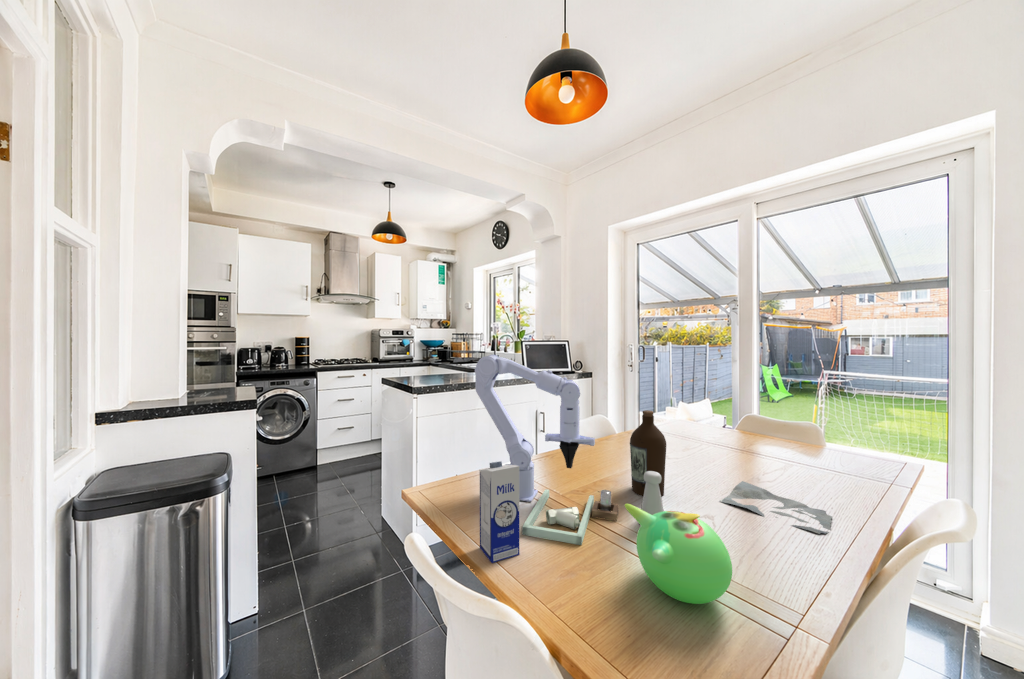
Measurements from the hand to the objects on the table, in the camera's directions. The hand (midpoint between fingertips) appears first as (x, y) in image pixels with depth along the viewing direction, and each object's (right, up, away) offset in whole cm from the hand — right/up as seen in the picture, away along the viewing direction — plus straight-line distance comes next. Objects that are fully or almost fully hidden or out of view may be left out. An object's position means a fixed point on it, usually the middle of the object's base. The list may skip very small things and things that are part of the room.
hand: (569, 467), depth 113 cm
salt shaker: (+19, -10, -14) cm, 26 cm away
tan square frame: (+8, -9, -10) cm, 16 cm away
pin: (+8, -9, -10) cm, 16 cm away
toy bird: (+15, -10, -40) cm, 44 cm away
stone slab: (+57, -10, -7) cm, 58 cm away
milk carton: (-20, -10, -27) cm, 35 cm away
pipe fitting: (-4, -10, -16) cm, 19 cm away
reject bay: (-4, -10, -12) cm, 15 cm away
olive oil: (+25, -9, +5) cm, 27 cm away
